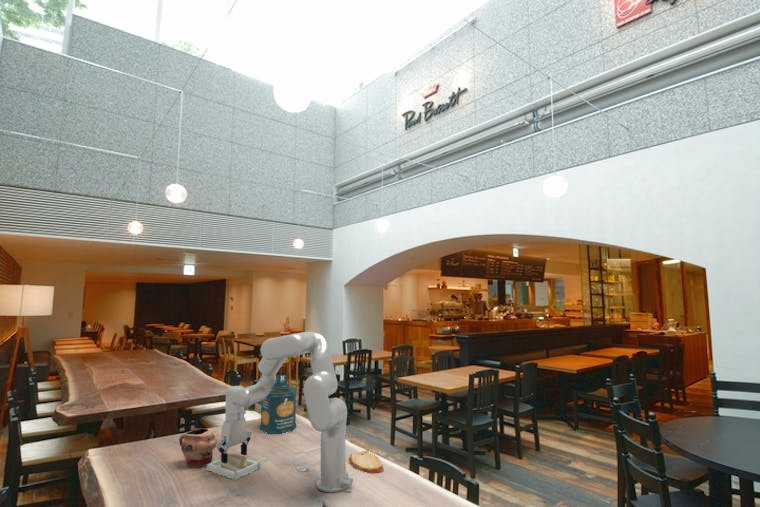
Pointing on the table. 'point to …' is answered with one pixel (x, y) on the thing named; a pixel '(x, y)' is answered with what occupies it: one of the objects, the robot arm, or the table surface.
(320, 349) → the robot arm
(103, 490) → the table surface
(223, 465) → the birch block
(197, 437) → the decorative planter
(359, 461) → the tan flat crusted slab
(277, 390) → the donation box
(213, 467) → the tray
